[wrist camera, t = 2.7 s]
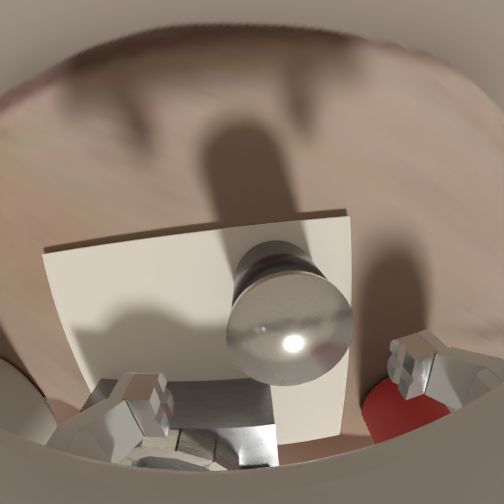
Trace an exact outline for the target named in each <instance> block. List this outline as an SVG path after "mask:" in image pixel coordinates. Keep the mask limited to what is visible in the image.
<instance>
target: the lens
mask: <svg viewBox="0 0 504 504" xmlns="http://www.w3.org/2000/svg"><path fill="white" fill-rule="evenodd" d="M353 332H354V318H353V313H352V310H351V307H350V305H349V303H348V301H347V299H346V298H345V297H344V295H343V294H342V293H341V292H340V291H339V289H338V288H337V287H336V286H335V285H334V284H333V283H331V282H330V281H328V280H327V278H326V277H325V276H324V275H323V274H322V272H321V271H320V270H319V269H318V267H317V266H316V265H315V264H314V263H313V261H312V260H311V259H310V258H309V257H308V255H307V254H306V253H305V252H304V251H303V250H302V249H301V248H299V247H298V246H296V245H294V244H292V243H290V242H286V241H280V240H272V241H266V242H263V243H260V244H258V245H256V246H254V247H253V248H251V249H250V250H249V251H248V252H247V253H246V254H245V255H244V256H243V257H242V259H241V260H240V262H239V264H238V266H237V269H236V274H235V282H234V290H233V299H232V308H231V311H230V314H229V317H228V322H227V329H226V342H227V347H228V351H229V354H230V356H231V358H232V360H233V361H234V363H235V364H236V365H237V366H238V368H239V369H240V370H241V371H242V372H244V373H245V374H246V375H248V376H249V377H251V378H253V379H255V380H257V381H259V382H262V383H265V384H269V385H274V386H294V385H300V384H304V383H307V382H310V381H313V380H315V379H317V378H319V377H321V376H323V375H324V374H326V373H327V372H329V371H330V370H331V369H332V368H333V367H335V366H336V365H337V364H338V363H339V361H340V360H341V359H342V358H343V356H344V355H345V353H346V352H347V350H348V348H349V346H350V343H351V341H352V337H353Z"/></svg>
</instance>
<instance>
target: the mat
mask: <svg viewBox="0 0 504 504" xmlns="http://www.w3.org/2000/svg"><path fill="white" fill-rule="evenodd" d="M272 240H280V241H286V242H290V243H292V244H294V245H296V246H298V247H299V248H301V249H302V250H303V251H304V252H305V253H306V254H307V255H308V257H309V258H310V259H311V260H312V261H313V263H314V264H315V265H316V266H317V267H318V269H319V270H320V271H321V272H322V274H323V275H324V276H325V277H326V278H327V280H328V281H330V282H331V283H333V284H334V285H335V286H336V287H337V288H338V289H339V291H340V292H341V293H342V294H343V295H344V297H345V298H346V299H347V301H348V303H349V305H350V307H351V229H350V216H338V217H327V218H316V219H305V220H295V221H285V222H275V223H266V224H256V225H247V226H238V227H229V228H221V229H212V230H204V231H196V232H188V233H180V234H172V235H165V236H157V237H150V238H142V239H135V240H128V241H121V242H114V243H107V244H101V245H94V246H88V247H81V248H75V249H69V250H62V251H56V252H50V253H45V254H42V256H43V261H44V265H45V269H46V273H47V277H48V281H49V284H50V288H51V292H52V295H53V298H54V302H55V305H56V308H57V311H58V314H59V317H60V320H61V323H62V326H63V328H64V331H65V334H66V336H67V339H68V342H69V344H70V347H71V349H72V352H73V354H74V356H75V359H76V361H77V363H78V366H79V368H80V370H81V372H82V374H83V377H84V379H85V381H86V383H87V385H88V387H89V389H90V391H91V393H92V392H93V390H94V389H95V387H96V386H97V384H98V383H99V381H100V379H101V378H103V379H116V380H119V378H120V377H121V375H122V373H125V372H135V373H162V374H164V375H165V378H166V381H212V380H230V379H243V378H251V377H249V376H248V375H246V374H245V373H244V372H242V371H241V370H240V369H239V368H238V366H237V365H236V364H235V363H234V361H233V360H232V358H231V356H230V354H229V351H228V347H227V342H226V329H227V322H228V317H229V314H230V311H231V308H232V299H233V290H234V282H235V274H236V269H237V266H238V264H239V262H240V260H241V259H242V257H243V256H244V255H245V254H246V253H247V252H248V251H249V250H250V249H251V248H253V247H254V246H256V245H258V244H260V243H263V242H266V241H272ZM348 355H349V348H348V350H347V352H346V353H345V355H344V356H343V358H342V359H341V360H340V361H339V363H338V364H337V365H336V366H335V367H333V368H332V369H331V370H330V371H329V372H327V373H326V374H324V375H323V376H321V377H319V378H317V379H315V380H313V381H310V382H307V383H304V384H300V385H294V386H274V385H270V387H271V396H272V404H273V413H274V422H275V431H276V442H277V445H280V444H288V443H295V442H302V441H308V440H314V439H320V438H325V437H330V436H335V435H339V434H340V427H341V420H342V413H343V405H344V397H345V388H346V378H347V368H348Z"/></svg>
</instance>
